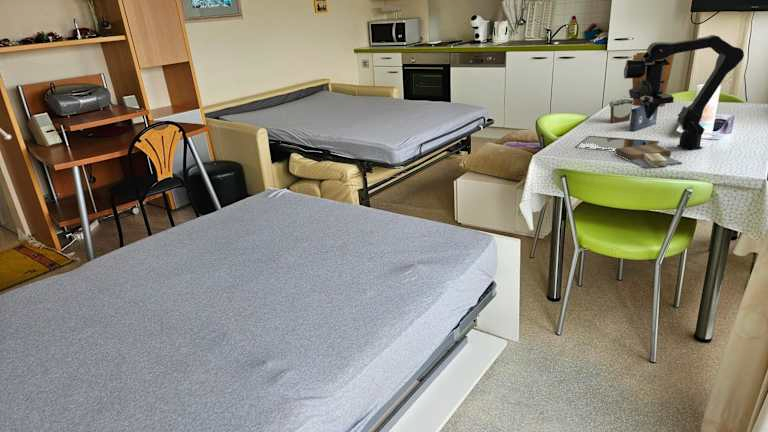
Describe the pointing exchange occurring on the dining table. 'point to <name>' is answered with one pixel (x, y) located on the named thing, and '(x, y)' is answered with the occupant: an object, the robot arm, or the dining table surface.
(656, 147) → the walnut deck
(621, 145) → the rectangular mirror
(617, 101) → the food container
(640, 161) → the rubber mat
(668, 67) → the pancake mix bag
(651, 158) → the maple tile
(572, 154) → the dining table surface
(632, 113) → the vhs cassette tape
